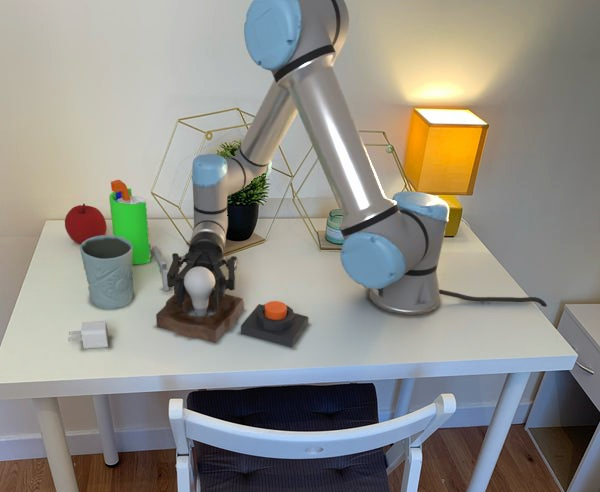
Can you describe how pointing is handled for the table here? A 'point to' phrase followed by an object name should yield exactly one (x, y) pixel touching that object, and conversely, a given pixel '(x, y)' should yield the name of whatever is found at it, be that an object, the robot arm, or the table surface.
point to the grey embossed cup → (108, 270)
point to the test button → (275, 310)
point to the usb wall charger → (92, 335)
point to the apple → (84, 223)
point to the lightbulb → (199, 288)
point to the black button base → (275, 327)
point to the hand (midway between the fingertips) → (197, 302)
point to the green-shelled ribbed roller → (130, 220)
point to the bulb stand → (200, 326)
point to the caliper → (161, 267)
